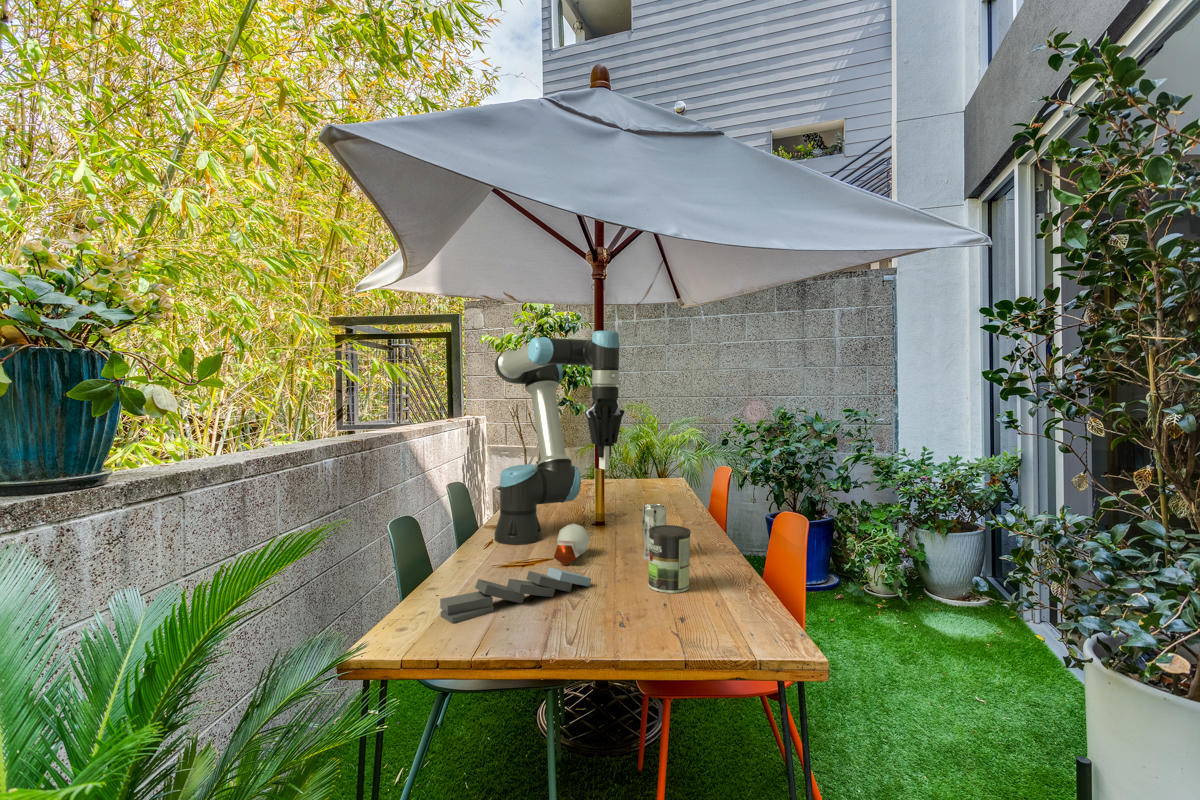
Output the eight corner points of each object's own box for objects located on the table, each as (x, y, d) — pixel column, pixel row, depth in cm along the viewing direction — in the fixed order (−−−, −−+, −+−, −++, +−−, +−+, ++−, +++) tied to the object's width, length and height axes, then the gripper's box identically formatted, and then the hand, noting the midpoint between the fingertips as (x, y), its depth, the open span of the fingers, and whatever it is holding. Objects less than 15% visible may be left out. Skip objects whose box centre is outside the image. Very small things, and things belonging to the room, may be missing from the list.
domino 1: (492, 606, 129) (447, 615, 124) (484, 599, 134) (440, 607, 128) (492, 597, 129) (447, 605, 124) (484, 590, 134) (440, 598, 128)
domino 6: (578, 573, 150) (549, 567, 144) (591, 578, 146) (562, 572, 140) (576, 581, 150) (546, 575, 143) (589, 586, 146) (559, 580, 139)
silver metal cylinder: (665, 554, 174) (666, 504, 174) (665, 561, 167) (666, 508, 167) (641, 554, 175) (642, 503, 174) (641, 560, 168) (641, 508, 167)
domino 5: (570, 592, 142) (538, 584, 136) (557, 586, 146) (526, 579, 139) (572, 583, 142) (541, 576, 136) (559, 578, 146) (528, 570, 140)
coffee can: (659, 595, 140) (659, 536, 140) (641, 582, 150) (641, 526, 149) (697, 590, 143) (698, 533, 143) (677, 577, 153) (678, 523, 153)
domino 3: (521, 603, 134) (484, 594, 129) (511, 596, 138) (474, 587, 133) (524, 594, 135) (487, 585, 129) (515, 588, 139) (478, 578, 133)
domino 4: (552, 597, 138) (518, 593, 132) (540, 591, 142) (506, 587, 136) (555, 588, 139) (521, 584, 132) (542, 583, 143) (509, 578, 136)
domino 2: (493, 615, 129) (452, 627, 123) (481, 609, 133) (440, 620, 126) (493, 606, 129) (452, 618, 123) (481, 600, 133) (440, 611, 126)
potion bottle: (581, 555, 177) (569, 577, 163) (555, 536, 178) (541, 555, 163) (598, 532, 175) (588, 552, 161) (572, 512, 176) (560, 530, 161)
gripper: (595, 385, 161) (593, 472, 161) (631, 386, 169) (630, 468, 169) (578, 385, 167) (577, 468, 167) (614, 385, 175) (613, 465, 175)
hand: (604, 468), depth 168 cm, fingers closed
